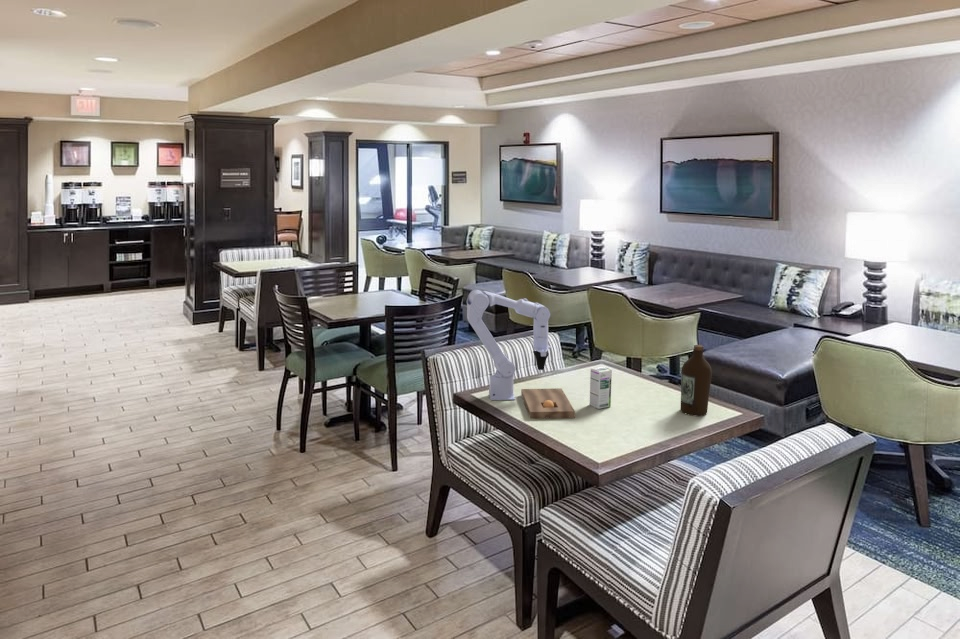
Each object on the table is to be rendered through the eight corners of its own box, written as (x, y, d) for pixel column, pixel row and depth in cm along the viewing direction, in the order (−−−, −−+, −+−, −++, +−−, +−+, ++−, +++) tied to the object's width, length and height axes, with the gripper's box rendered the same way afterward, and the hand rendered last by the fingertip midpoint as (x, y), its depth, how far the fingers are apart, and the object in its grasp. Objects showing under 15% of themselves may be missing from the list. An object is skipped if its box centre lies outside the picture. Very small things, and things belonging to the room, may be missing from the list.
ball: (544, 408, 245) (542, 398, 247) (543, 413, 249) (541, 403, 251) (555, 408, 245) (553, 398, 247) (553, 412, 249) (552, 402, 251)
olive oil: (694, 405, 255) (699, 341, 250) (715, 414, 246) (720, 347, 240) (672, 409, 251) (676, 343, 245) (692, 418, 241) (697, 350, 236)
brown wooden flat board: (530, 418, 240) (530, 412, 240) (521, 395, 266) (521, 389, 265) (574, 417, 241) (574, 411, 241) (561, 394, 267) (561, 388, 266)
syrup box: (598, 409, 250) (600, 371, 247) (588, 404, 255) (590, 367, 252) (610, 407, 253) (612, 369, 249) (601, 402, 258) (602, 365, 255)
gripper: (554, 339, 254) (554, 374, 257) (548, 331, 268) (547, 363, 271) (535, 340, 254) (535, 375, 257) (530, 331, 268) (530, 364, 271)
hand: (540, 369), depth 264 cm, fingers closed
